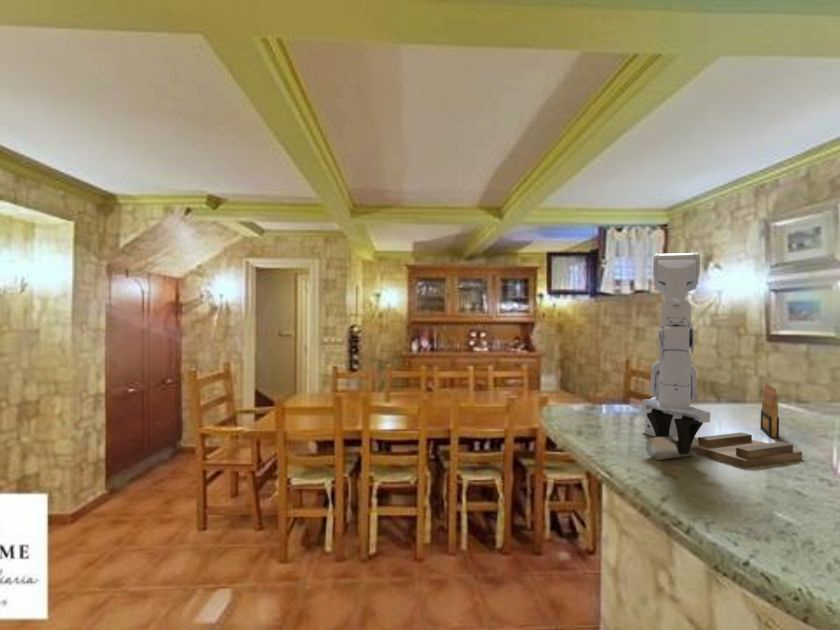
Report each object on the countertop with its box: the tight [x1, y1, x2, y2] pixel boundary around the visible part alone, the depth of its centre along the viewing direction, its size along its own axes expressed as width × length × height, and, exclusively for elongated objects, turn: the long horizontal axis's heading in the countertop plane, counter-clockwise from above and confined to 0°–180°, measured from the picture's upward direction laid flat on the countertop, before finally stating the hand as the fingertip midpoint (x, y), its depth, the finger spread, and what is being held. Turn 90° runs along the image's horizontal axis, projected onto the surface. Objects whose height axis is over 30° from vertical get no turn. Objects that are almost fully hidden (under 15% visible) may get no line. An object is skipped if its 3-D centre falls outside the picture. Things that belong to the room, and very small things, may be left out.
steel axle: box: [645, 435, 699, 461], centre depth 101 cm, size 4×10×4 cm
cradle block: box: [696, 432, 803, 469], centre depth 104 cm, size 12×18×3 cm, turn 113°
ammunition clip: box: [759, 383, 780, 439], centre depth 124 cm, size 11×2×12 cm, turn 155°
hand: (673, 450), depth 101 cm, fingers closed on steel axle, 4 cm apart
